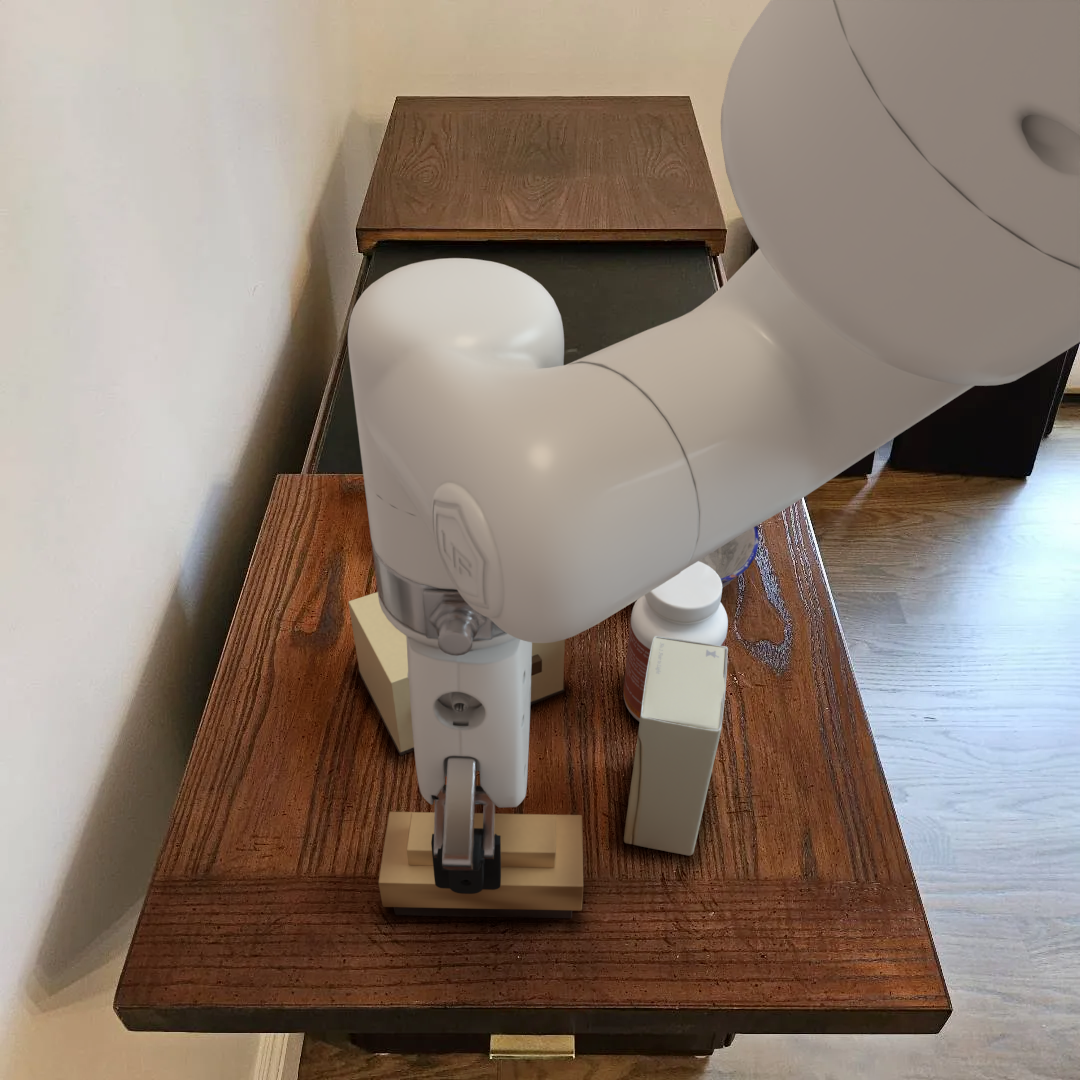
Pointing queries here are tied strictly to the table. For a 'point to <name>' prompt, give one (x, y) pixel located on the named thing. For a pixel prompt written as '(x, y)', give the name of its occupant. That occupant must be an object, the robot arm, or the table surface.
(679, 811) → the cosmetic box
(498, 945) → the table surface
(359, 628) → the bread box
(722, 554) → the bowl
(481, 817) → the brush
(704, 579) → the pill bottle
